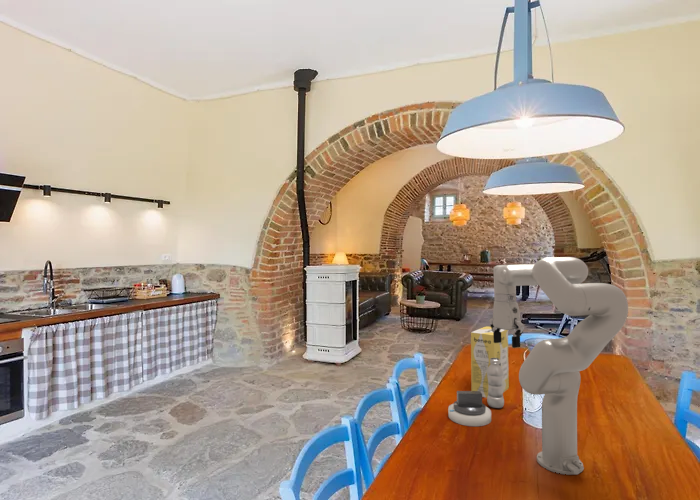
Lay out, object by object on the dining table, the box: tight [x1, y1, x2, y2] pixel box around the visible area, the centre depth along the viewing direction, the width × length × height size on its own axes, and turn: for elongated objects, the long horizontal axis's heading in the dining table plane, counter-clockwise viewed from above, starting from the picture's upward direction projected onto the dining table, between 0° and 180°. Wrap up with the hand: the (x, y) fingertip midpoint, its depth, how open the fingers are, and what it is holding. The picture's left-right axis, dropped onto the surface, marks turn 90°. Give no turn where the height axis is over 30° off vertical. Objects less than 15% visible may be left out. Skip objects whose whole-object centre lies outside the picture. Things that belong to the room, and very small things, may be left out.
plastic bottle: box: [486, 358, 505, 409], centre depth 169 cm, size 6×7×20 cm
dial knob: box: [453, 390, 487, 415], centre depth 159 cm, size 12×12×6 cm
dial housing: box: [447, 403, 492, 427], centre depth 159 cm, size 16×16×3 cm
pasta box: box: [470, 326, 510, 399], centre depth 188 cm, size 18×10×28 cm, turn 141°
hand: (506, 345), depth 151 cm, fingers open, 9 cm apart
